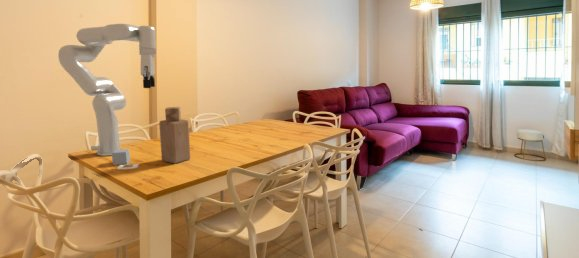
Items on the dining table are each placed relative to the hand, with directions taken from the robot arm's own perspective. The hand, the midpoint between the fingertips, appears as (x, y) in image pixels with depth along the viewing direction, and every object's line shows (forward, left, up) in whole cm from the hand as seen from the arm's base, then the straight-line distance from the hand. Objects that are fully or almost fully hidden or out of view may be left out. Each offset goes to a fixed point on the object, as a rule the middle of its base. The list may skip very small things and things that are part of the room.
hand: (149, 87), depth 161 cm
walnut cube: (+12, -12, -15) cm, 23 cm away
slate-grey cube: (-13, -11, -35) cm, 39 cm away
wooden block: (+12, -12, -35) cm, 39 cm away
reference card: (-8, -19, -35) cm, 41 cm away
